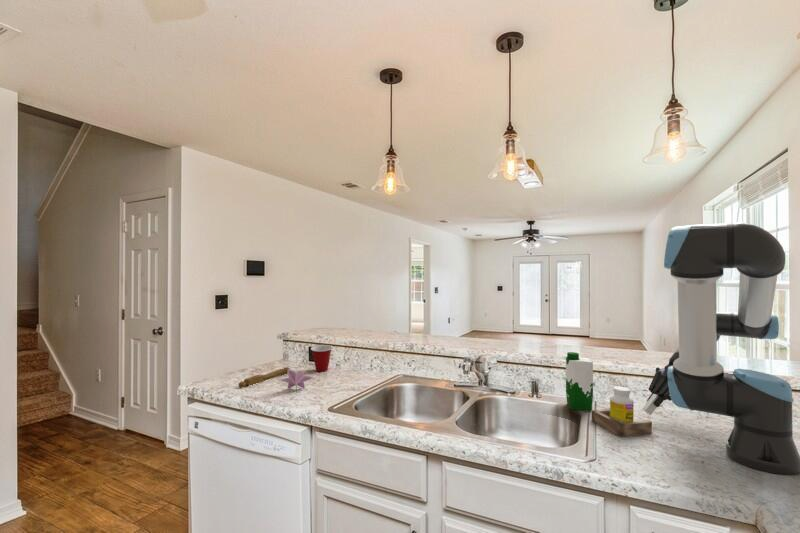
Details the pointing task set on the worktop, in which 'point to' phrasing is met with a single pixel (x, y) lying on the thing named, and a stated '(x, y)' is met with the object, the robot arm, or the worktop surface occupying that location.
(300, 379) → the lily
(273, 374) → the tap handle
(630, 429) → the walnut dock
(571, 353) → the milk carton
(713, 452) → the worktop surface
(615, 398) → the supplement bottle
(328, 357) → the plastic cup
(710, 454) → the worktop surface
